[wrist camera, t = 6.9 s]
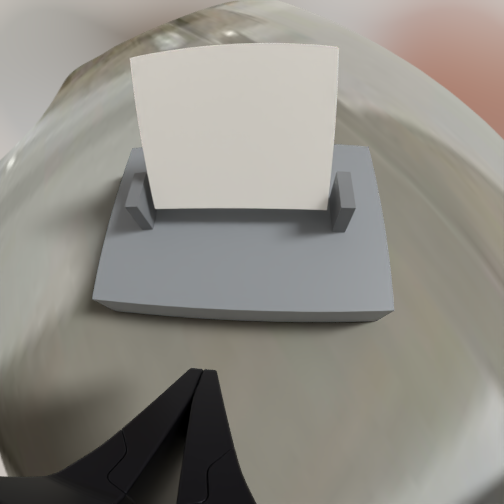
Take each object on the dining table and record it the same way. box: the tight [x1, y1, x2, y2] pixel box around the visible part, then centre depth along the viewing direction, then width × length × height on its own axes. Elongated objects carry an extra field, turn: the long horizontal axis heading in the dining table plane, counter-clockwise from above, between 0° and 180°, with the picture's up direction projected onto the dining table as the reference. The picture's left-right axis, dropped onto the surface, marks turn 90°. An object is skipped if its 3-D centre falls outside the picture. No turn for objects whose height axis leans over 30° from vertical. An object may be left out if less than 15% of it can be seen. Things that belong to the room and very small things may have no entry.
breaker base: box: [92, 144, 394, 322], centre depth 19 cm, size 12×18×6 cm, turn 87°
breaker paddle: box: [130, 43, 339, 210], centre depth 15 cm, size 2×10×9 cm, turn 87°
